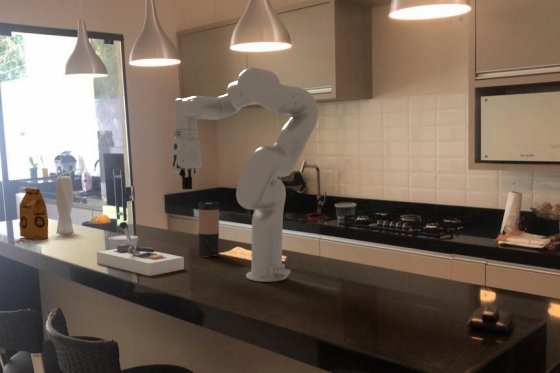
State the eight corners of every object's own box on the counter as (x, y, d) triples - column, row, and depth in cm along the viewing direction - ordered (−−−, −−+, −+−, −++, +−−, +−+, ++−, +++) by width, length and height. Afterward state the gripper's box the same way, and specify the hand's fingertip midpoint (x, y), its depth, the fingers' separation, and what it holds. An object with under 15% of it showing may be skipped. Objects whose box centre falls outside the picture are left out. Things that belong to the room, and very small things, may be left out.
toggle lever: (139, 250, 196) (127, 220, 191) (134, 254, 194) (121, 224, 190) (135, 250, 197) (122, 220, 193) (130, 253, 196) (117, 223, 191)
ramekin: (106, 249, 226) (105, 236, 225) (134, 247, 231) (134, 234, 230) (111, 254, 216) (111, 240, 215) (141, 252, 221) (141, 238, 220)
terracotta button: (166, 265, 188) (166, 256, 188) (155, 267, 185) (155, 257, 185) (157, 263, 191) (157, 254, 191) (146, 265, 188) (146, 256, 188)
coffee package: (28, 241, 241) (27, 189, 240) (17, 237, 250) (16, 187, 249) (52, 238, 249) (51, 188, 247) (39, 235, 257) (39, 186, 256)
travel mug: (215, 258, 210) (215, 203, 209) (195, 257, 211) (195, 203, 210) (221, 254, 217) (221, 201, 216) (202, 253, 219) (202, 201, 218)
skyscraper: (64, 231, 272) (63, 172, 270) (77, 231, 270) (77, 172, 268) (52, 233, 264) (52, 172, 262) (66, 234, 262) (65, 173, 260)
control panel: (183, 269, 190) (183, 251, 190) (149, 275, 179) (149, 257, 179) (130, 257, 209) (130, 241, 208) (96, 263, 198) (96, 246, 197)
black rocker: (153, 252, 193) (154, 248, 193) (141, 251, 189) (141, 247, 189) (148, 251, 195) (148, 247, 195) (135, 250, 191) (136, 246, 191)
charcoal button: (132, 253, 200) (132, 244, 200) (122, 255, 196) (121, 246, 196) (125, 252, 203) (125, 243, 202) (114, 254, 199) (114, 244, 199)
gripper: (176, 134, 186) (177, 190, 187) (209, 135, 198) (210, 188, 199) (161, 135, 191) (162, 190, 192) (194, 136, 202) (195, 187, 203)
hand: (187, 189), depth 195 cm, fingers closed
